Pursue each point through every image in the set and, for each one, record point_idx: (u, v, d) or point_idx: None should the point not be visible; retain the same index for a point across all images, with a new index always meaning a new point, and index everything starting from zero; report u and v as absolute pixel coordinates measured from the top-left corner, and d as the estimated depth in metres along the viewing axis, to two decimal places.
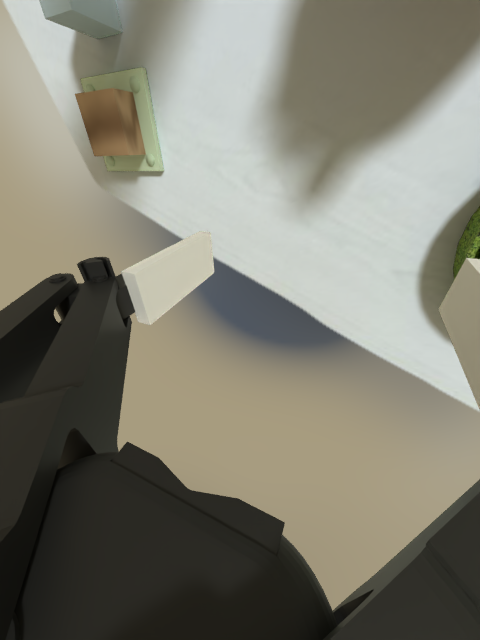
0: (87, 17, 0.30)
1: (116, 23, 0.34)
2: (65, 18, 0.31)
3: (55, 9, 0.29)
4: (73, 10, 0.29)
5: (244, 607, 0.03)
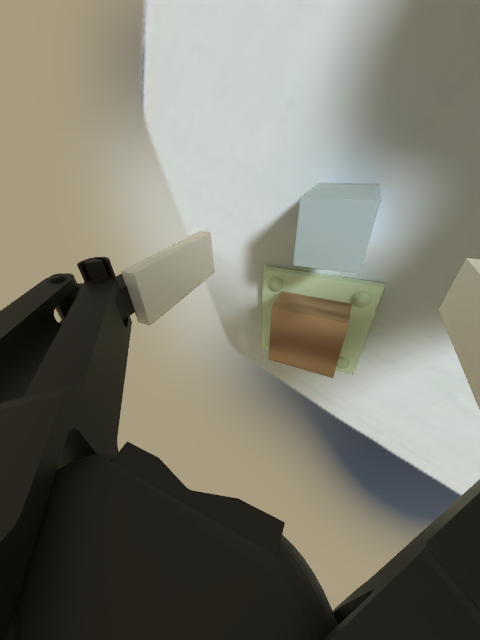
0: None
1: None
2: None
3: (322, 264, 0.18)
4: (358, 273, 0.18)
5: (243, 607, 0.03)
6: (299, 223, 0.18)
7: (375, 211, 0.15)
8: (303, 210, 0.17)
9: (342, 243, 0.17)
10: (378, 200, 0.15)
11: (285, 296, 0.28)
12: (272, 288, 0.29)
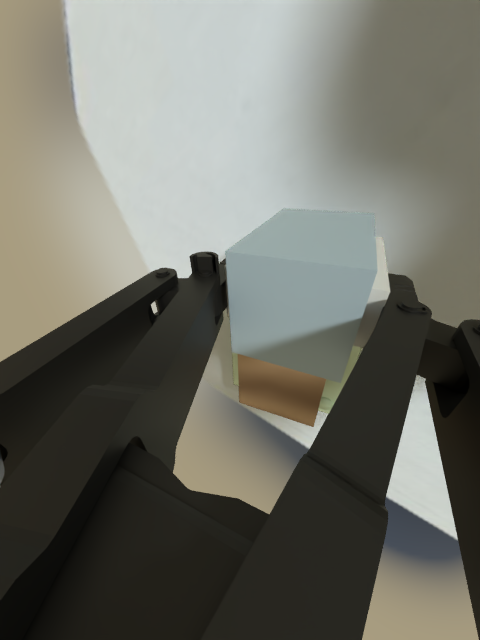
0: None
1: None
2: None
3: (278, 358, 0.11)
4: (339, 378, 0.10)
5: None
6: (231, 293, 0.10)
7: (366, 289, 0.07)
8: (234, 274, 0.09)
9: (308, 333, 0.09)
10: (373, 269, 0.07)
11: None
12: None
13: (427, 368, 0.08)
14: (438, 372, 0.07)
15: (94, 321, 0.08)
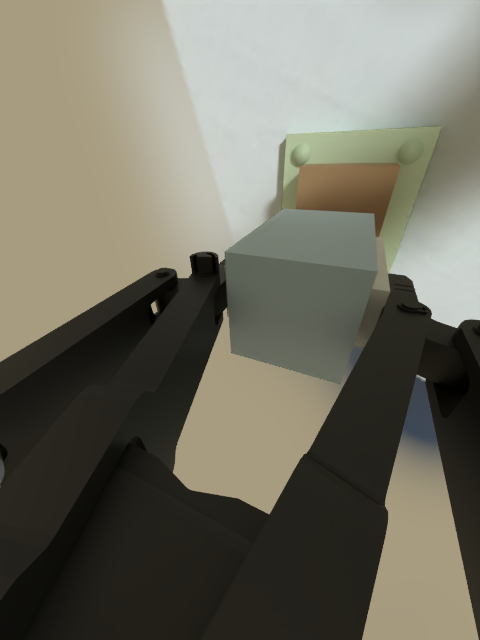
0: None
1: None
2: None
3: (277, 359, 0.11)
4: (339, 380, 0.10)
5: None
6: (231, 293, 0.10)
7: (366, 290, 0.07)
8: (233, 274, 0.09)
9: (307, 334, 0.09)
10: (373, 270, 0.07)
11: (314, 164, 0.24)
12: (297, 161, 0.25)
13: (427, 368, 0.08)
14: (438, 372, 0.07)
15: (94, 321, 0.08)
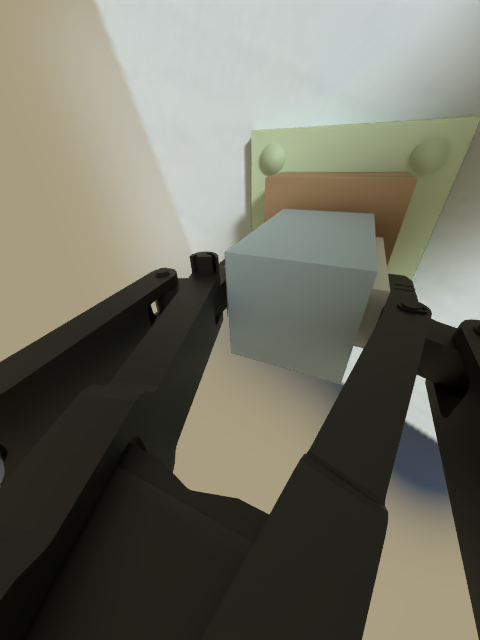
0: None
1: None
2: None
3: (277, 359, 0.11)
4: (339, 380, 0.10)
5: None
6: (231, 294, 0.10)
7: (366, 290, 0.07)
8: (233, 274, 0.09)
9: (307, 334, 0.09)
10: (373, 270, 0.07)
11: (289, 173, 0.17)
12: (267, 167, 0.18)
13: (427, 368, 0.08)
14: (438, 372, 0.07)
15: (94, 321, 0.08)
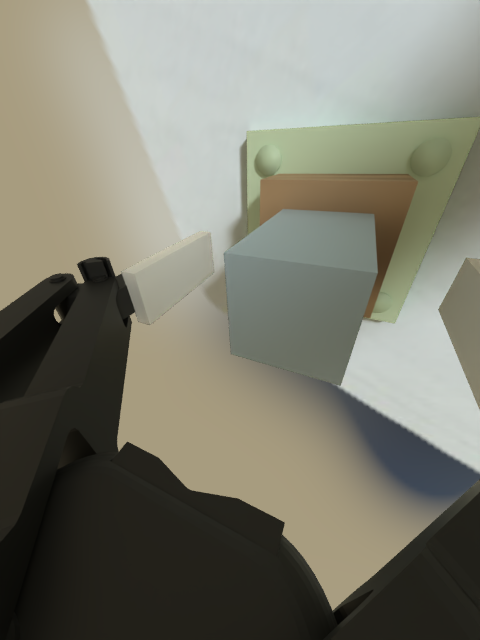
0: None
1: None
2: None
3: (277, 360, 0.11)
4: (339, 381, 0.10)
5: (244, 607, 0.03)
6: (230, 295, 0.10)
7: (366, 292, 0.07)
8: (233, 275, 0.09)
9: (307, 336, 0.09)
10: (373, 272, 0.07)
11: (286, 175, 0.16)
12: (263, 169, 0.17)
13: None
14: None
15: None
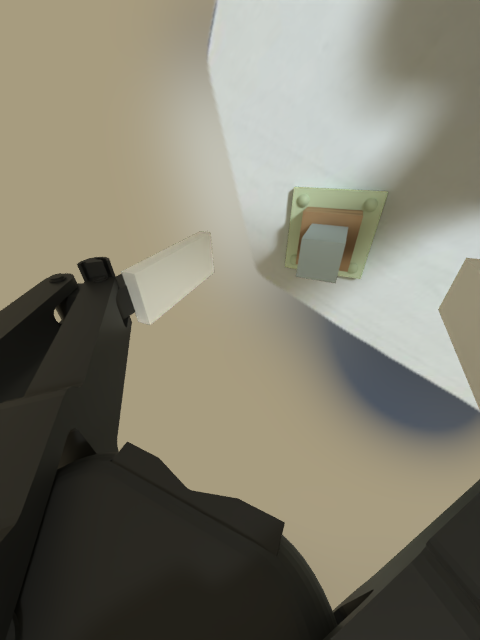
0: None
1: None
2: None
3: (314, 276, 0.31)
4: (335, 282, 0.30)
5: (244, 608, 0.03)
6: (301, 252, 0.30)
7: (343, 249, 0.28)
8: (303, 245, 0.29)
9: (325, 265, 0.29)
10: (344, 243, 0.27)
11: (311, 208, 0.36)
12: (300, 204, 0.38)
13: None
14: None
15: None
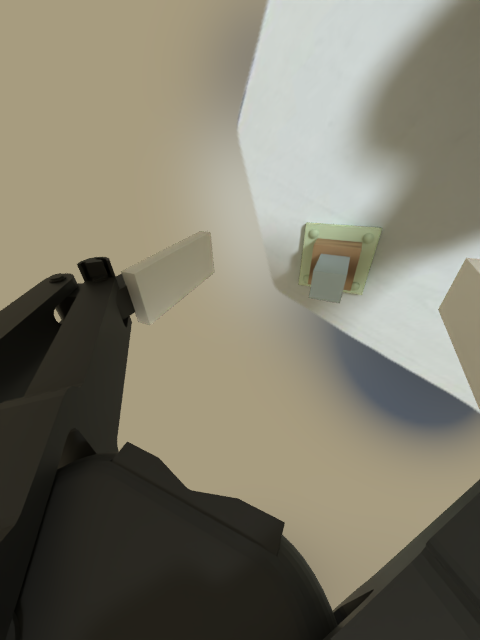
0: None
1: None
2: None
3: (323, 298, 0.40)
4: (339, 302, 0.39)
5: (244, 607, 0.03)
6: (312, 280, 0.39)
7: (345, 279, 0.37)
8: (314, 275, 0.38)
9: (331, 290, 0.38)
10: (346, 275, 0.36)
11: (320, 240, 0.45)
12: (311, 236, 0.46)
13: None
14: None
15: None
